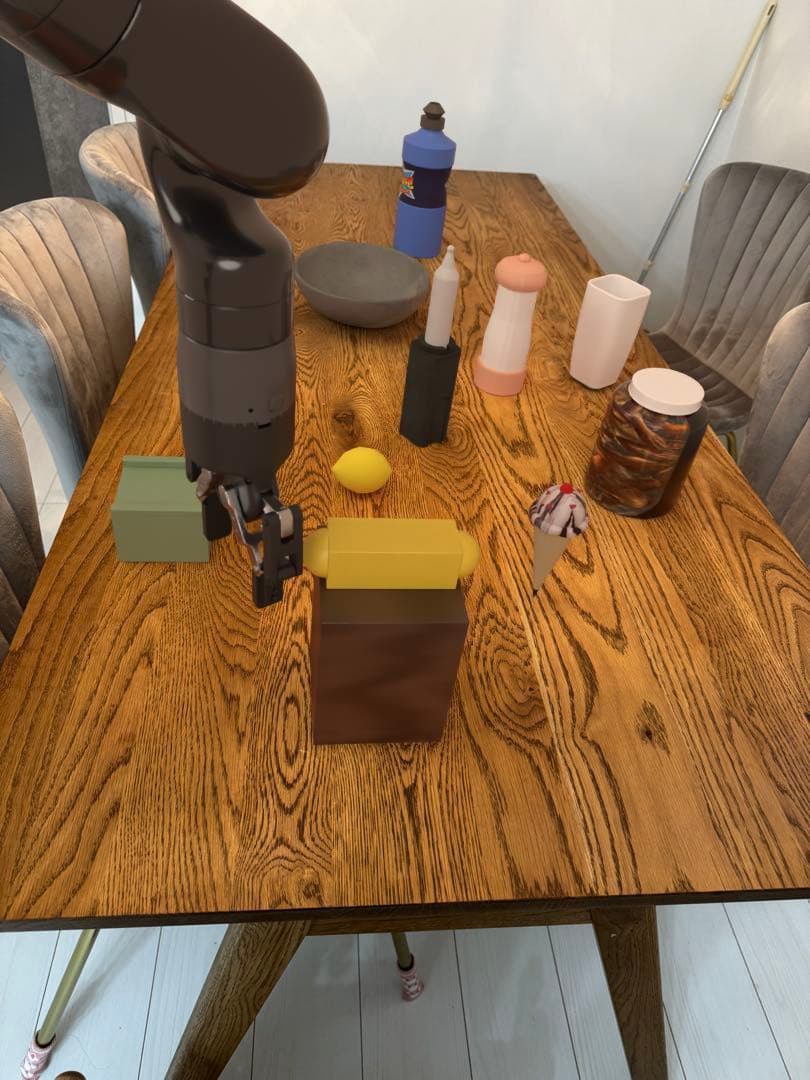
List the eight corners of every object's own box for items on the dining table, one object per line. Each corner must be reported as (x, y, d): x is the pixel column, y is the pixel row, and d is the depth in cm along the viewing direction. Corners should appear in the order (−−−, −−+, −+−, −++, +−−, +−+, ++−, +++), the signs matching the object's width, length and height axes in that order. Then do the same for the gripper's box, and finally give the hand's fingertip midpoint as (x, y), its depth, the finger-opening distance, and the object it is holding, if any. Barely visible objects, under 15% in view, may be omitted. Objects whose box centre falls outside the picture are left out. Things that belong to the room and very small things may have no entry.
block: (118, 561, 82) (109, 509, 78) (130, 505, 89) (123, 454, 84) (209, 562, 84) (206, 511, 79) (214, 507, 90) (212, 457, 86)
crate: (312, 745, 68) (321, 623, 59) (309, 646, 77) (316, 524, 67) (441, 741, 70) (469, 622, 60) (424, 645, 78) (447, 526, 69)
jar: (677, 529, 97) (723, 423, 87) (580, 506, 98) (615, 399, 88) (675, 474, 106) (717, 372, 96) (586, 454, 107) (618, 351, 97)
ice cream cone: (535, 572, 88) (569, 459, 79) (571, 604, 85) (612, 491, 75) (495, 590, 85) (526, 475, 76) (532, 625, 82) (569, 510, 72)
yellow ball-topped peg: (301, 589, 61) (302, 551, 59) (300, 553, 64) (301, 516, 62) (479, 589, 63) (488, 553, 61) (470, 555, 66) (479, 519, 64)
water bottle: (401, 258, 149) (418, 109, 133) (385, 239, 156) (400, 94, 140) (448, 257, 152) (470, 111, 136) (430, 238, 159) (450, 96, 143)
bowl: (437, 304, 136) (444, 258, 131) (407, 360, 121) (413, 309, 116) (317, 278, 139) (319, 231, 134) (272, 329, 123) (272, 278, 118)
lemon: (387, 476, 98) (392, 438, 95) (391, 504, 94) (396, 466, 91) (329, 474, 97) (332, 436, 94) (331, 502, 93) (333, 463, 90)
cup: (625, 385, 123) (656, 292, 113) (593, 397, 119) (623, 301, 109) (589, 364, 126) (616, 272, 117) (557, 375, 123) (583, 280, 113)
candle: (424, 419, 109) (452, 233, 93) (449, 437, 106) (483, 249, 90) (395, 430, 106) (419, 240, 90) (420, 449, 104) (450, 257, 87)
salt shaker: (465, 371, 120) (489, 243, 108) (510, 369, 122) (538, 243, 110) (484, 397, 115) (511, 266, 103) (530, 394, 117) (562, 265, 105)
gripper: (140, 349, 55) (159, 530, 66) (234, 459, 47) (239, 646, 58) (240, 329, 59) (244, 504, 70) (344, 429, 51) (330, 609, 61)
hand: (242, 568), depth 64 cm, fingers open, 8 cm apart
